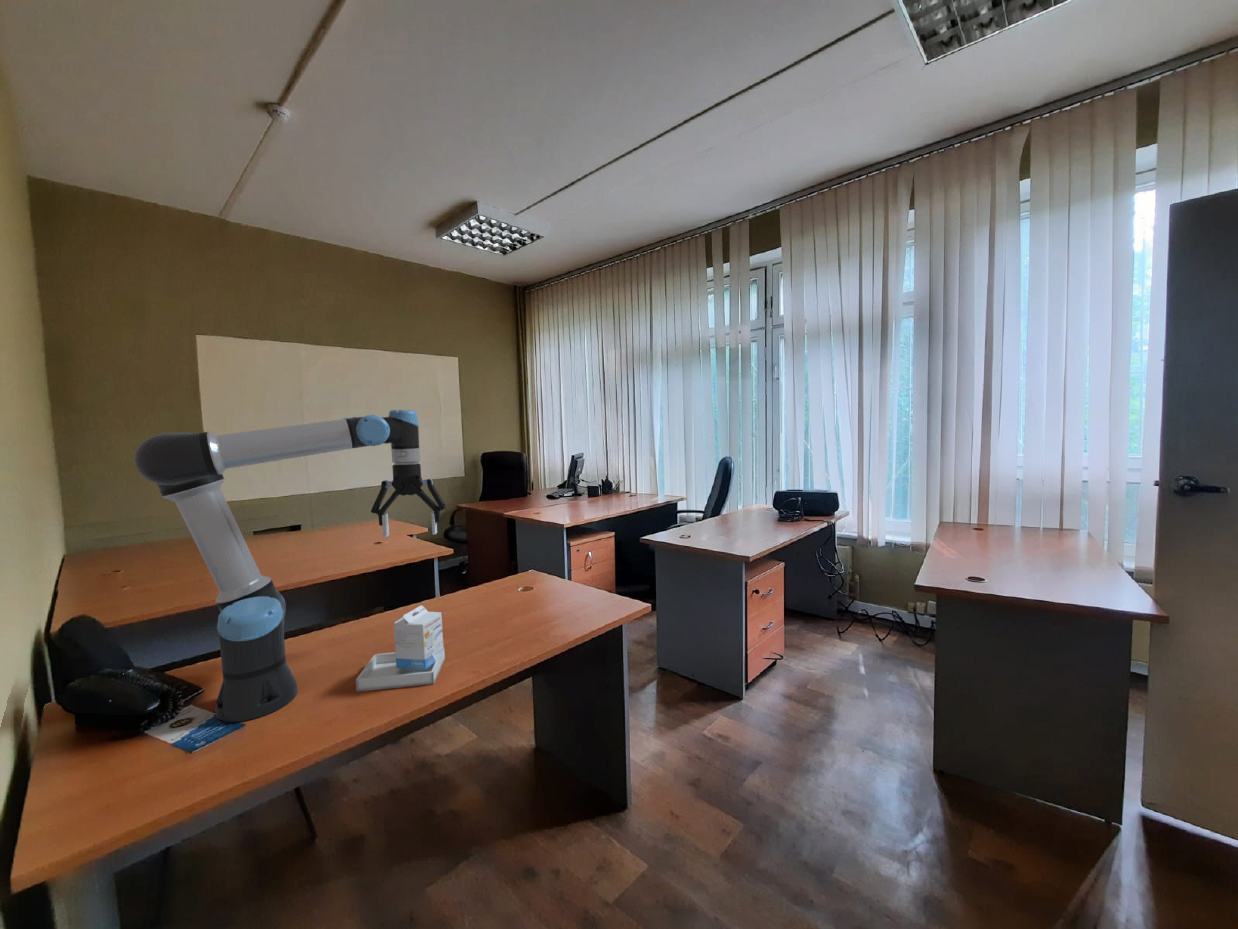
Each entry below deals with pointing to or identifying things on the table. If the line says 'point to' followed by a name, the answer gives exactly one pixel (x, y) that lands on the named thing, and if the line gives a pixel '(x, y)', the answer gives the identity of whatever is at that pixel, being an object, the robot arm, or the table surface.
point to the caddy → (394, 674)
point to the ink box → (418, 639)
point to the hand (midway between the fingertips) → (410, 535)
